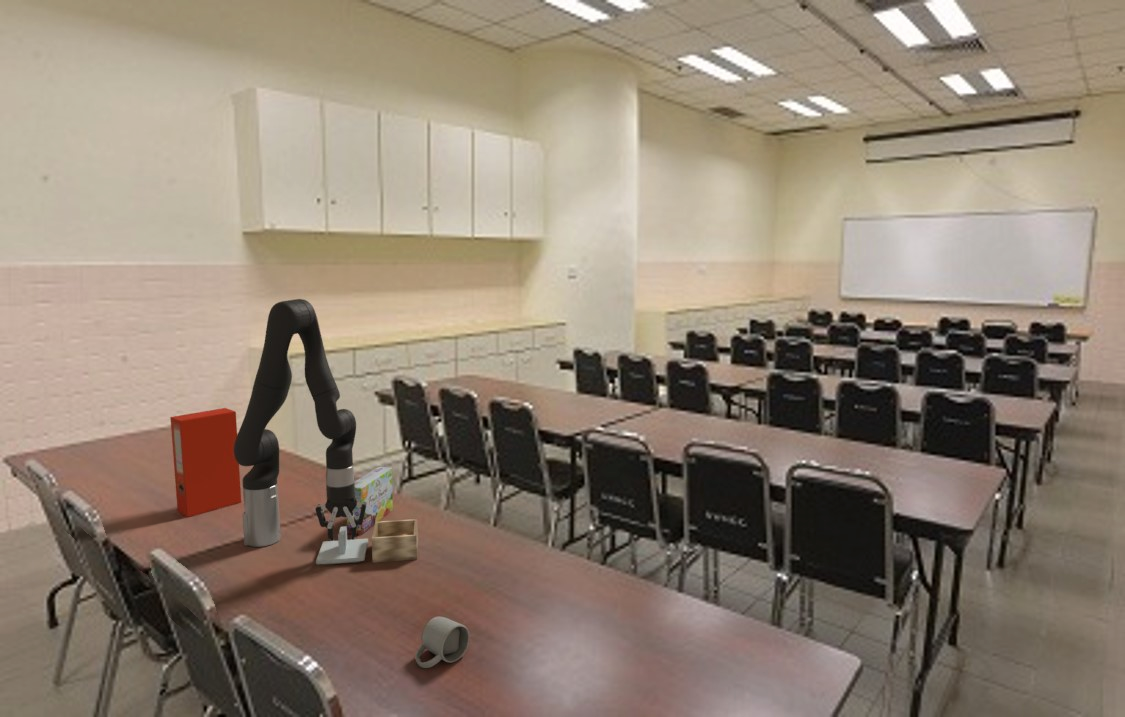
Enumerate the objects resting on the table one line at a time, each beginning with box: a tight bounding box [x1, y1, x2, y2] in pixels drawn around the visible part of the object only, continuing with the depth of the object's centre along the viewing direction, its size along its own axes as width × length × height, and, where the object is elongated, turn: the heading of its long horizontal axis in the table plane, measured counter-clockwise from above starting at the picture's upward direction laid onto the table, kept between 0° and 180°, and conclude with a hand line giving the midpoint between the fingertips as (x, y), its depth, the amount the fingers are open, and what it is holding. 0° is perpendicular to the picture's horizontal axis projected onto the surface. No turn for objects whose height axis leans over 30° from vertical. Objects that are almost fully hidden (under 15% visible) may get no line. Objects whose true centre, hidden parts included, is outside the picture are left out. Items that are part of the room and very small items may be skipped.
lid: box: [315, 525, 369, 566], centre depth 189 cm, size 13×13×8 cm
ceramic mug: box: [414, 615, 470, 669], centre depth 142 cm, size 11×8×8 cm
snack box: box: [346, 466, 394, 536], centre depth 213 cm, size 21×6×15 cm, turn 168°
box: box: [371, 518, 419, 564], centre depth 192 cm, size 12×12×7 cm
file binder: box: [169, 407, 242, 518], centre depth 222 cm, size 8×17×32 cm, turn 141°
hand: (342, 539), depth 189 cm, fingers open, 5 cm apart
